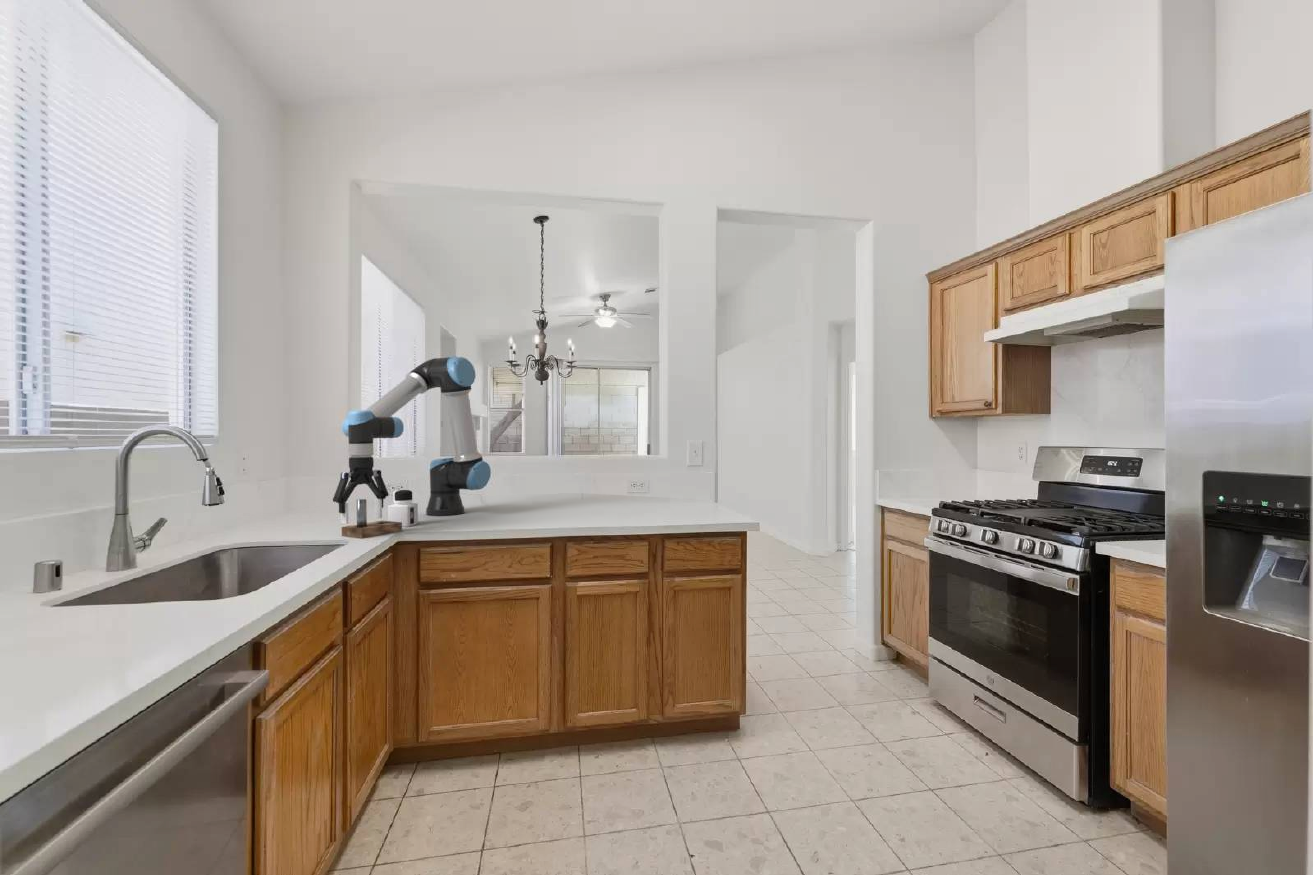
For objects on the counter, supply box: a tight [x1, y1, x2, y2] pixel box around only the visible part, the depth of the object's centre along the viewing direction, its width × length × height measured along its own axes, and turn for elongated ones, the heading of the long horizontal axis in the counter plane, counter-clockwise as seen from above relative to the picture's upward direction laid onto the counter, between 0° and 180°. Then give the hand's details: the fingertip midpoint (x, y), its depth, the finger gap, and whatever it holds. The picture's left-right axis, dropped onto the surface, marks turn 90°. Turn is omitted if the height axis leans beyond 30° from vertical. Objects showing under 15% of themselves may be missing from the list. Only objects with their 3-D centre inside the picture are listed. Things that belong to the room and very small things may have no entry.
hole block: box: [341, 520, 403, 539], centre depth 214 cm, size 16×10×3 cm, turn 152°
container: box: [387, 489, 419, 528], centre depth 231 cm, size 8×8×13 cm
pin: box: [356, 498, 368, 528], centre depth 210 cm, size 3×3×12 cm
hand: (362, 520), depth 210 cm, fingers open, 12 cm apart
